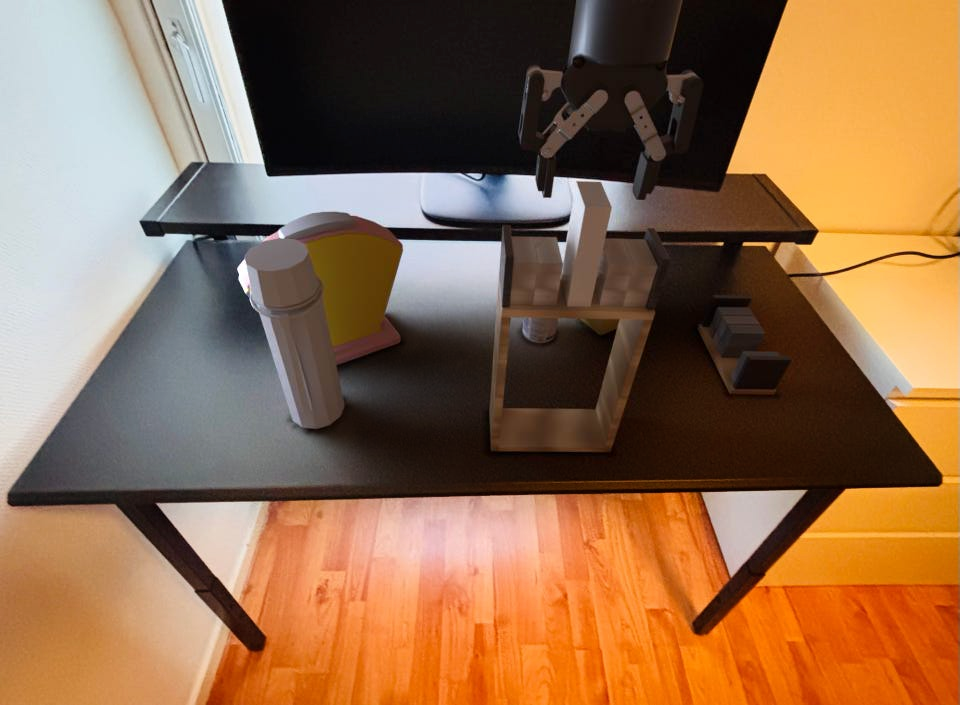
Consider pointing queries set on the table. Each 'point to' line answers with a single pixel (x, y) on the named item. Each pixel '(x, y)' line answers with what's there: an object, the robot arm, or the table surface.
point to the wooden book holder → (618, 289)
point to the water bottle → (296, 329)
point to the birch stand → (566, 425)
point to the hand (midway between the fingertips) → (591, 195)
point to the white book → (584, 242)
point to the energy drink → (540, 329)
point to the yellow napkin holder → (348, 277)
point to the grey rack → (740, 347)
